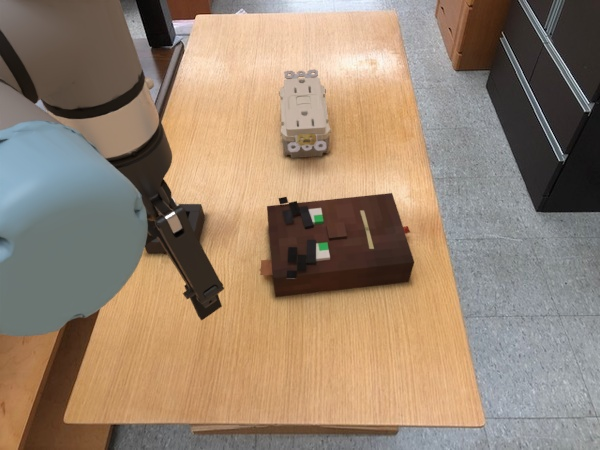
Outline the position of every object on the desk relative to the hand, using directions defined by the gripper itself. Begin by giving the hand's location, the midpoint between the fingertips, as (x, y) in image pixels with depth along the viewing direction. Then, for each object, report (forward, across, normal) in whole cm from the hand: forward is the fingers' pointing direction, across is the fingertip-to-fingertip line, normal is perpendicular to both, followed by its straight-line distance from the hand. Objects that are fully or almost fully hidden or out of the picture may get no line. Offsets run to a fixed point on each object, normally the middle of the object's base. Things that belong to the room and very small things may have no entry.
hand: (179, 272), depth 53 cm
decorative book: (+29, +4, -30) cm, 42 cm away
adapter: (+29, +30, -8) cm, 42 cm away
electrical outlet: (+29, +36, -49) cm, 67 cm away
